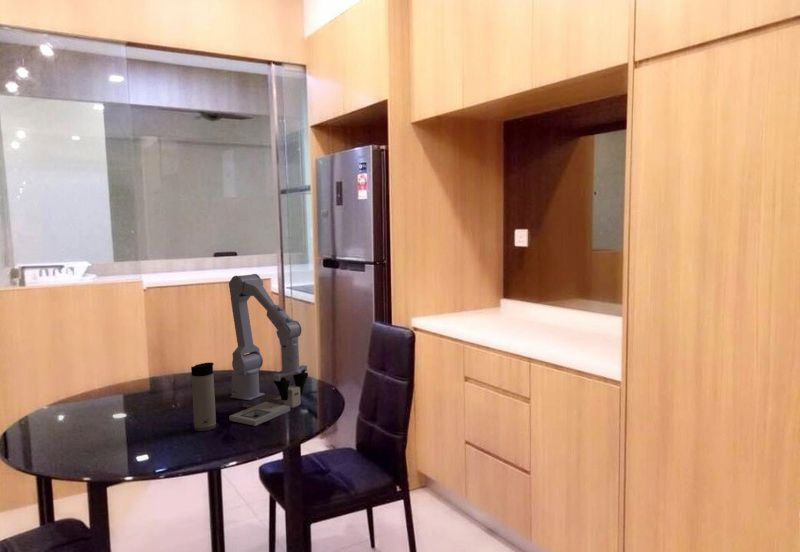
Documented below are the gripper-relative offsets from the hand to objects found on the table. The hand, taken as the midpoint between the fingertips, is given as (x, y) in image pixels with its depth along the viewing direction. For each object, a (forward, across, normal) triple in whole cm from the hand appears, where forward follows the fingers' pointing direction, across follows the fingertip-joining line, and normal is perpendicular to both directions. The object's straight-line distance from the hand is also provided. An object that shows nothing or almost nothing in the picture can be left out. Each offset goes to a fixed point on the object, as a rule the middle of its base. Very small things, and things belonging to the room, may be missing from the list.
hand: (292, 396), depth 189 cm
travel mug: (+3, -29, +9) cm, 31 cm away
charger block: (+3, 0, 0) cm, 3 cm away
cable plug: (+4, -3, +6) cm, 8 cm away
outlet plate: (+3, -13, +2) cm, 13 cm away
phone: (+3, -3, +11) cm, 12 cm away
